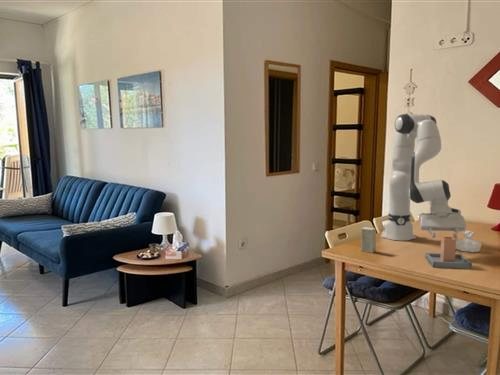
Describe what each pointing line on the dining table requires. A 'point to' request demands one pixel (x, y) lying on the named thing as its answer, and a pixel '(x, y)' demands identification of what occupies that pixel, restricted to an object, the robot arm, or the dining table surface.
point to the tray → (459, 262)
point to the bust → (468, 243)
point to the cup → (448, 249)
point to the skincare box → (368, 239)
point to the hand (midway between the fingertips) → (444, 237)
